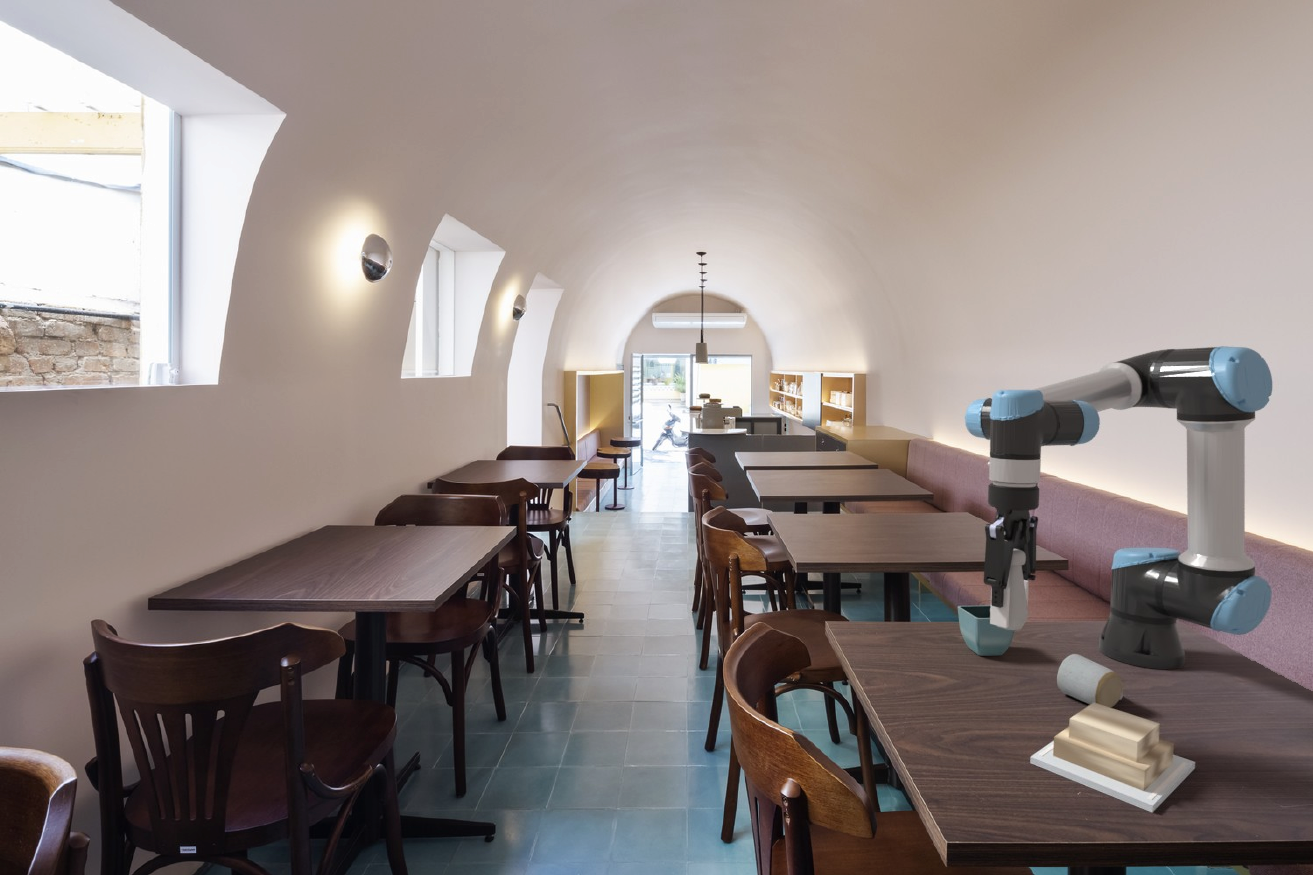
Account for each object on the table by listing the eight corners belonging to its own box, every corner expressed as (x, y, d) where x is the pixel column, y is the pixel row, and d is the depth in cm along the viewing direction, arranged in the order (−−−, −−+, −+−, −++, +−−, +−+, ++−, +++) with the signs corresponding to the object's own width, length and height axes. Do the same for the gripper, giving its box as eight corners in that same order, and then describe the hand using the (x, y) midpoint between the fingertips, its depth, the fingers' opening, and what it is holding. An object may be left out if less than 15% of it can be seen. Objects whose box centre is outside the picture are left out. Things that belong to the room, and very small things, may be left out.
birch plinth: (1085, 732, 116) (1087, 696, 116) (1172, 762, 107) (1175, 724, 106) (1053, 755, 109) (1054, 717, 108) (1143, 791, 100) (1146, 749, 99)
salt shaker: (992, 630, 117) (994, 552, 116) (986, 618, 123) (989, 544, 122) (1031, 633, 116) (1034, 554, 114) (1024, 622, 121) (1027, 546, 120)
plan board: (1079, 727, 120) (1079, 721, 120) (1194, 768, 107) (1195, 761, 107) (1030, 762, 109) (1030, 756, 109) (1152, 812, 96) (1152, 804, 96)
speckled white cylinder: (1098, 715, 125) (1100, 672, 124) (1054, 696, 132) (1057, 655, 131) (1135, 705, 129) (1138, 663, 128) (1091, 687, 136) (1094, 648, 136)
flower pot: (955, 644, 158) (956, 605, 157) (993, 644, 158) (995, 604, 158) (975, 660, 149) (976, 618, 148) (1015, 659, 150) (1017, 617, 149)
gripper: (1017, 476, 126) (1012, 604, 128) (962, 486, 114) (957, 627, 116) (1062, 480, 120) (1057, 615, 122) (1009, 491, 108) (1003, 640, 110)
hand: (1008, 620), depth 119 cm, fingers closed on salt shaker, 6 cm apart
